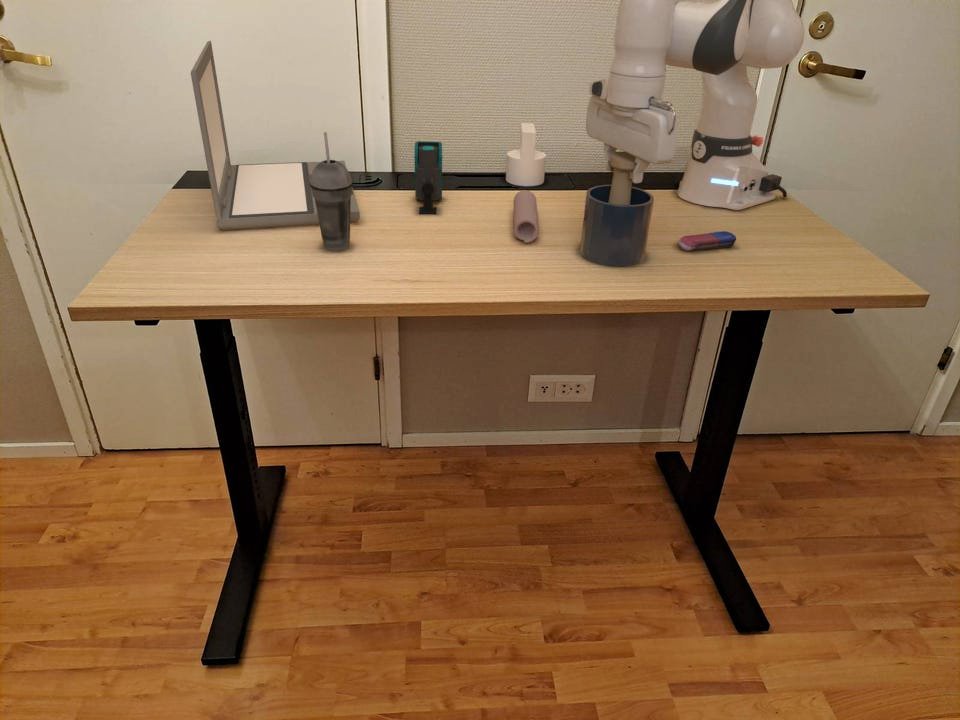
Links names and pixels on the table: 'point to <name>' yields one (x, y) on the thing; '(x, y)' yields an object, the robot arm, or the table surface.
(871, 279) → the table surface
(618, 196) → the handle
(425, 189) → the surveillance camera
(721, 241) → the eraser
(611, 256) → the open cylindrical bucket
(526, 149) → the cylinder with rectangular tab
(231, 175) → the laptop
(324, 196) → the beverage cup
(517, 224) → the coil
